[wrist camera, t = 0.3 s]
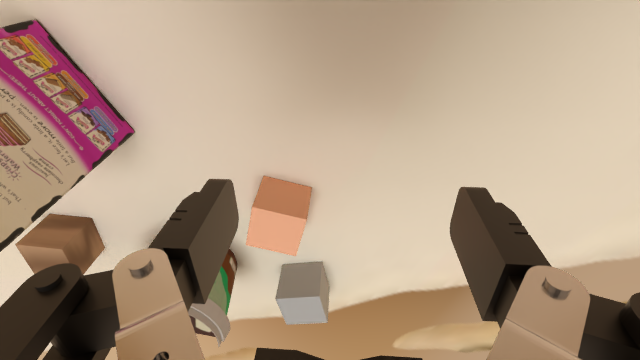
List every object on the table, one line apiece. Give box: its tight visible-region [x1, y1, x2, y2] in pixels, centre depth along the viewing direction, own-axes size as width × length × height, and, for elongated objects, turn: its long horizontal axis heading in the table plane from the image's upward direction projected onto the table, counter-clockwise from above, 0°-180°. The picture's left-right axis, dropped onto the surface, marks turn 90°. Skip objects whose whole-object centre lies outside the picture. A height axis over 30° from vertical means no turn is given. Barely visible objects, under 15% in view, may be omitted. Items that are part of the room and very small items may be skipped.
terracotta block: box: [246, 176, 312, 256], centre depth 33 cm, size 5×5×5 cm
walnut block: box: [15, 214, 105, 274], centre depth 38 cm, size 5×5×5 cm
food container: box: [188, 249, 237, 347], centre depth 36 cm, size 12×6×10 cm, turn 76°
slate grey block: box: [276, 262, 329, 324], centre depth 40 cm, size 5×5×5 cm
